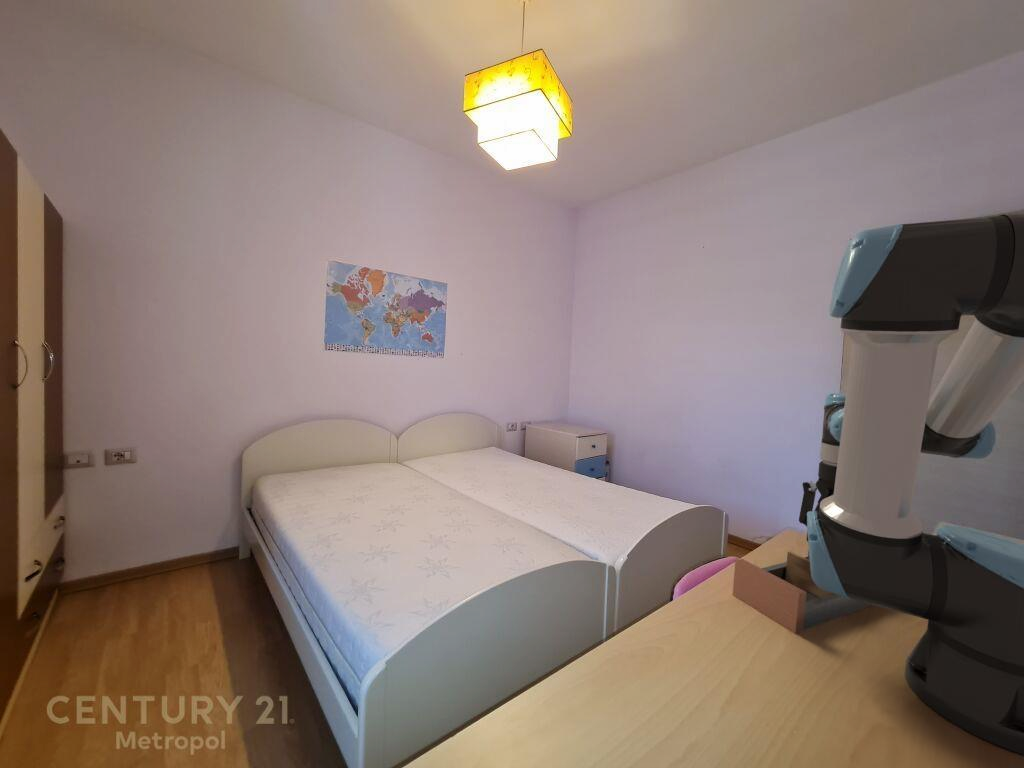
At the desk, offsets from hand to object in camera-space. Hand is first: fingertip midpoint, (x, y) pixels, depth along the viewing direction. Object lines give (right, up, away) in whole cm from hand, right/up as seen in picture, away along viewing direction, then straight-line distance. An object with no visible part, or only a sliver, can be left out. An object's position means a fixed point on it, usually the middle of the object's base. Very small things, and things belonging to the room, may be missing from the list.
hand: (830, 564), depth 92 cm
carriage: (-8, 0, -9) cm, 12 cm away
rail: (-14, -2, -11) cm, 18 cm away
